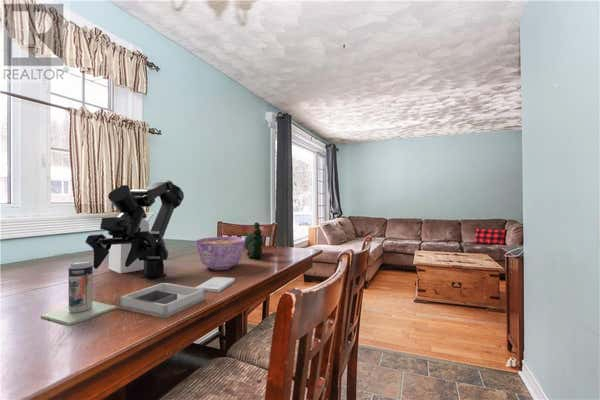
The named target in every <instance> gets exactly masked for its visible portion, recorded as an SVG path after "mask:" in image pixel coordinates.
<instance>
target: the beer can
mask: <svg viewBox="0 0 600 400" xmlns="http://www.w3.org/2000/svg"><path fill="white" fill-rule="evenodd" d="M93 265H94V264H93V263H92V261H91V260H79V261H73V262H71V263H70V264H69V266H68V307H69V311H70V312H72V313H80V312H85V311H87V310H89V309H90V308H92V301H93V272H94V271H93V268H94V267H93Z"/></svg>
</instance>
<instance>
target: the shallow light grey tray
mask: <svg viewBox="0 0 600 400" xmlns="http://www.w3.org/2000/svg"><path fill="white" fill-rule="evenodd" d="M205 297H206V291H205V289H200V288H196V287H194V286H193V287H192V286H189V285H188V286H186V285H181V284H176V283H175V284H174V283H167V282H160V283H158V284H155V285H152V286H149V287H145V288H141V289H140V290H136V291H133V292H130V293H127V294H125V295H120V296H119V306H118V307H119V309H120V310H121V309H122V310H126V311H129V312H136V313H138V314H139V313H140V314H144V315H147V316H148V315H149V316H153V317H156V318H157V317H158V318H162V319H167V318H168V317H169V318H170V317H172V315H173V316H174V315H175V314H178V313H179V312H182V311H184V310H186V309H188V308H191V307H192V306H194V305H197V304H199V303H200V302H203V301H205V300H206V298H205Z"/></svg>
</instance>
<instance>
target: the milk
mask: <svg viewBox="0 0 600 400" xmlns="http://www.w3.org/2000/svg"><path fill="white" fill-rule="evenodd" d="M122 214H123V213H121V212H120V213H119V215H118V216H117V217H121V215H122ZM139 227H140V228H141V231H149V232H150V224H149V222H148V220H146V218H142V221H141V223H140V226H139ZM109 238H112V235H109ZM130 249H131V244H115V245H111V248H110V249H109V250H108V251H109V253H108V266H107V267H108V270H111V271H113V272H115V273H118V274H126V273H130V272H131V273H132V272H136V271H144V260H141V261H139V259H138V258H137V259H136V260H135V261H134V262H133V263H132V264H131V265H130V266H129V267H126V266H125V263H126V259H127V257H128V254H129V252H130Z"/></svg>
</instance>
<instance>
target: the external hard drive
mask: <svg viewBox="0 0 600 400" xmlns="http://www.w3.org/2000/svg"><path fill="white" fill-rule="evenodd" d="M234 282H236V279H235V278H234V277H224V276H222V277H221V276H213V277H211V278H210V279H207V280H206V281H205V282H203V283H201V284H200V285H197V286H196V287H195V288H200V289H205V292H208V293H209V292H211V293H219V292H221V291H222V290H224V289H226V288H227V287H229V286H230V285H231V284H233V283H234Z"/></svg>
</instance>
